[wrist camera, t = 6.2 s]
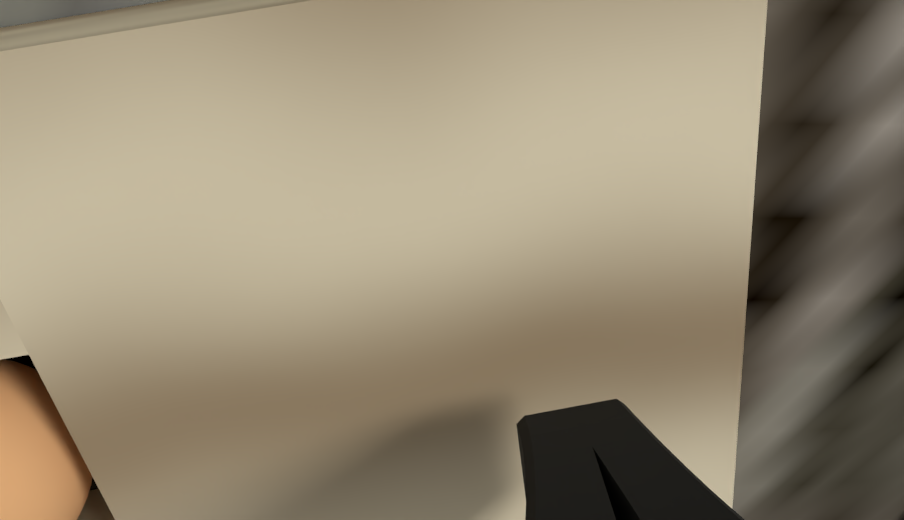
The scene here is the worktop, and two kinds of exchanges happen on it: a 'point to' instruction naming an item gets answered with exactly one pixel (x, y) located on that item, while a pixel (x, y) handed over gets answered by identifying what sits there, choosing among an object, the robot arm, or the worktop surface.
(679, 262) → the board
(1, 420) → the ball
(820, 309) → the worktop surface
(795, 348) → the worktop surface
